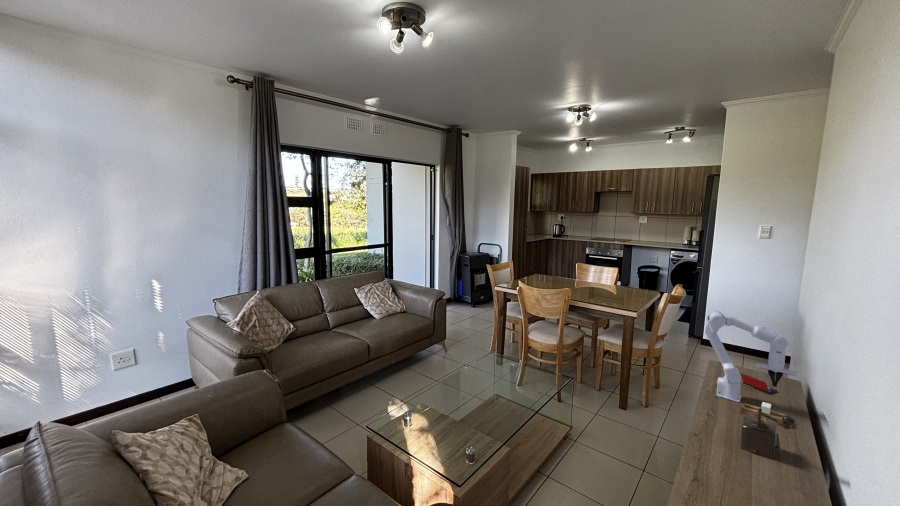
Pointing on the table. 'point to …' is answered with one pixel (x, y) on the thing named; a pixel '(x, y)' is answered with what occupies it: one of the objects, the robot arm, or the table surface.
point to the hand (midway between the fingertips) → (774, 386)
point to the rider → (766, 408)
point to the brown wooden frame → (753, 410)
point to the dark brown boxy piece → (761, 434)
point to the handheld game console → (757, 384)
